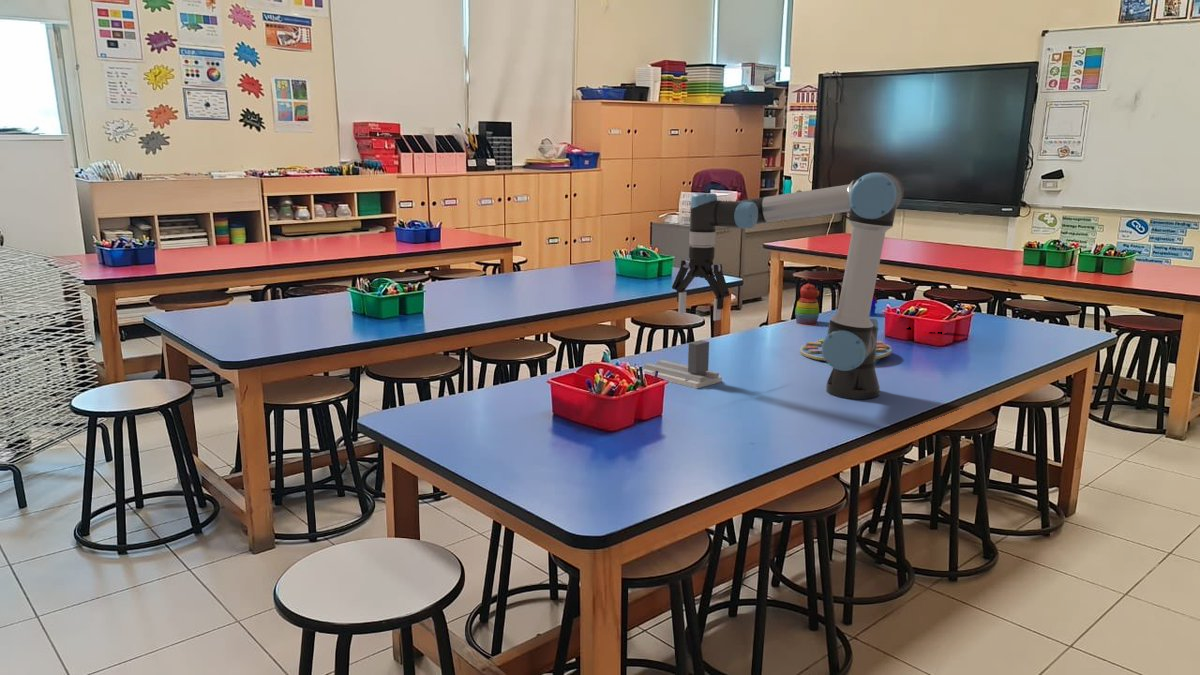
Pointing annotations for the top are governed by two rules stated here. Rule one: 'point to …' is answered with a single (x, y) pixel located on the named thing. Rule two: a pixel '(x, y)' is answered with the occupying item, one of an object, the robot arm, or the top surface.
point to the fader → (698, 357)
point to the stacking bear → (807, 306)
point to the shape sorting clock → (815, 352)
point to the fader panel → (686, 383)
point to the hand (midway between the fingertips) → (699, 316)
